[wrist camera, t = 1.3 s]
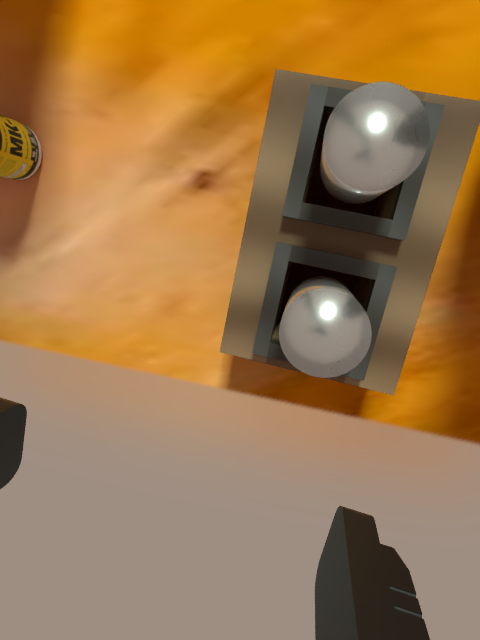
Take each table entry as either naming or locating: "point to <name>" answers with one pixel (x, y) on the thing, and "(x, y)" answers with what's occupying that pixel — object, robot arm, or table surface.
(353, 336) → the peg
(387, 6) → the table surface
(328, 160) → the peg
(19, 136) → the supplement bottle
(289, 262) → the brown wooden block
